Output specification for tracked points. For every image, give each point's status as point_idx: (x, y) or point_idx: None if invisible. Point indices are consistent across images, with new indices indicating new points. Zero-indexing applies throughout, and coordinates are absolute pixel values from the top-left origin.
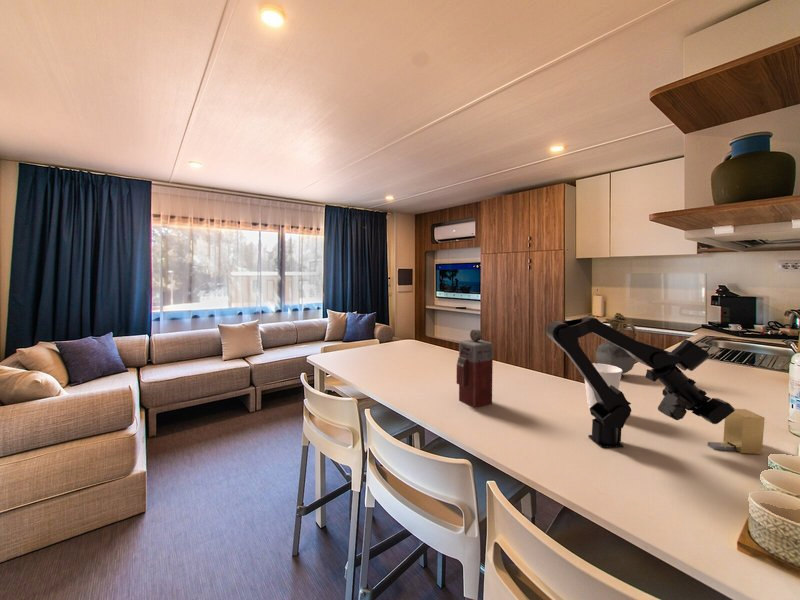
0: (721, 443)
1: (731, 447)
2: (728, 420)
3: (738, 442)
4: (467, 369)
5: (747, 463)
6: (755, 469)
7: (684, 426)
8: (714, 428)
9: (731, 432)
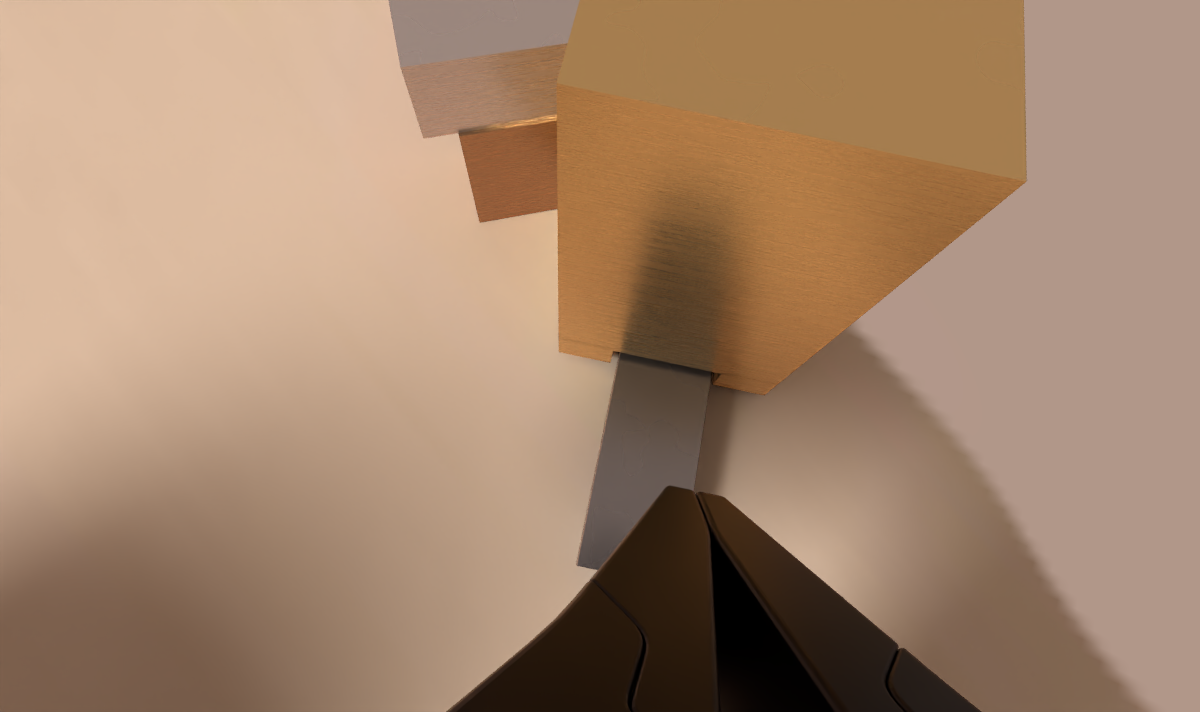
0: (626, 441)
1: (703, 414)
2: (632, 233)
3: (759, 361)
4: None
5: (925, 515)
6: (1026, 553)
7: (137, 385)
8: (272, 129)
9: (671, 312)
